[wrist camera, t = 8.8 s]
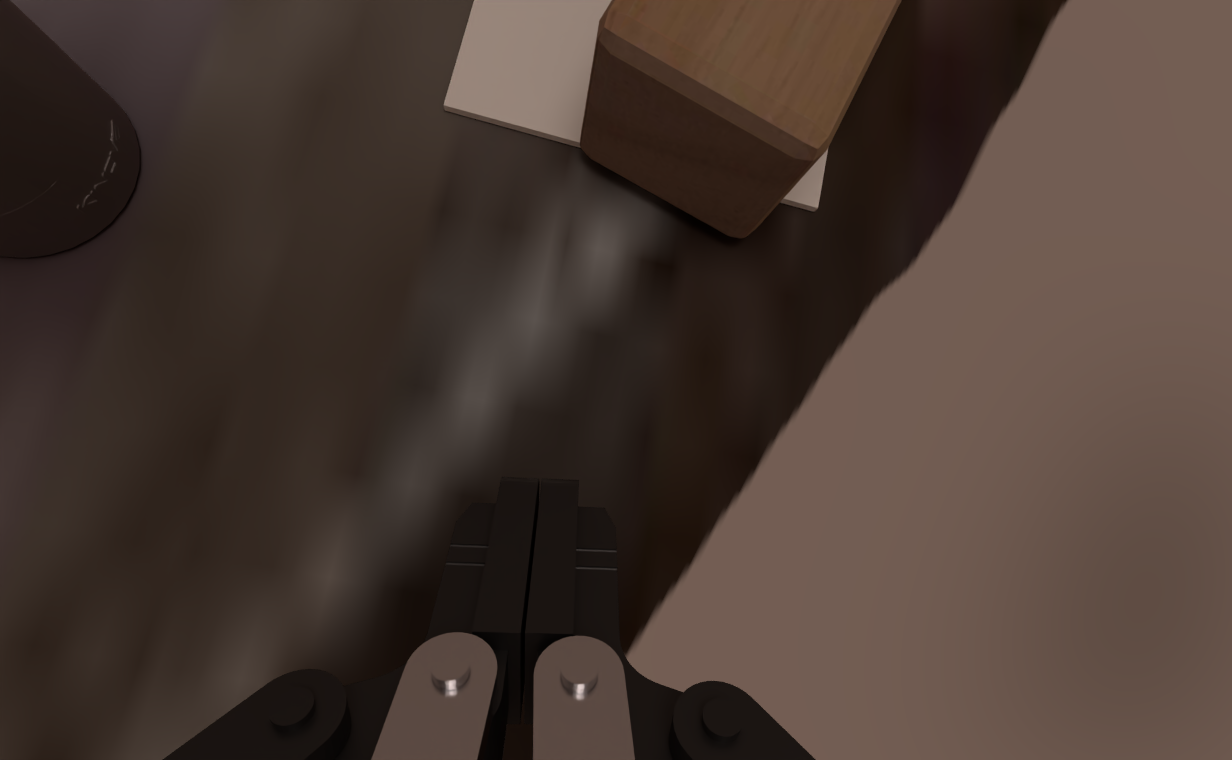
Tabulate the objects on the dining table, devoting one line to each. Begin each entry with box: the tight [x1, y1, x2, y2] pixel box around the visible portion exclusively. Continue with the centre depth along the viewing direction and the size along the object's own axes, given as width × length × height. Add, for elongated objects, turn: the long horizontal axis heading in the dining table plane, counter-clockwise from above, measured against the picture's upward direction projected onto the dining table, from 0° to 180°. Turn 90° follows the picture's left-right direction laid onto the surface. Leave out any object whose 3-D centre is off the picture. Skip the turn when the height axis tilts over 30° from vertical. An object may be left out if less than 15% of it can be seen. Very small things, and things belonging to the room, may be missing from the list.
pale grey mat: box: [444, 0, 828, 212], centre depth 36 cm, size 20×19×1 cm
